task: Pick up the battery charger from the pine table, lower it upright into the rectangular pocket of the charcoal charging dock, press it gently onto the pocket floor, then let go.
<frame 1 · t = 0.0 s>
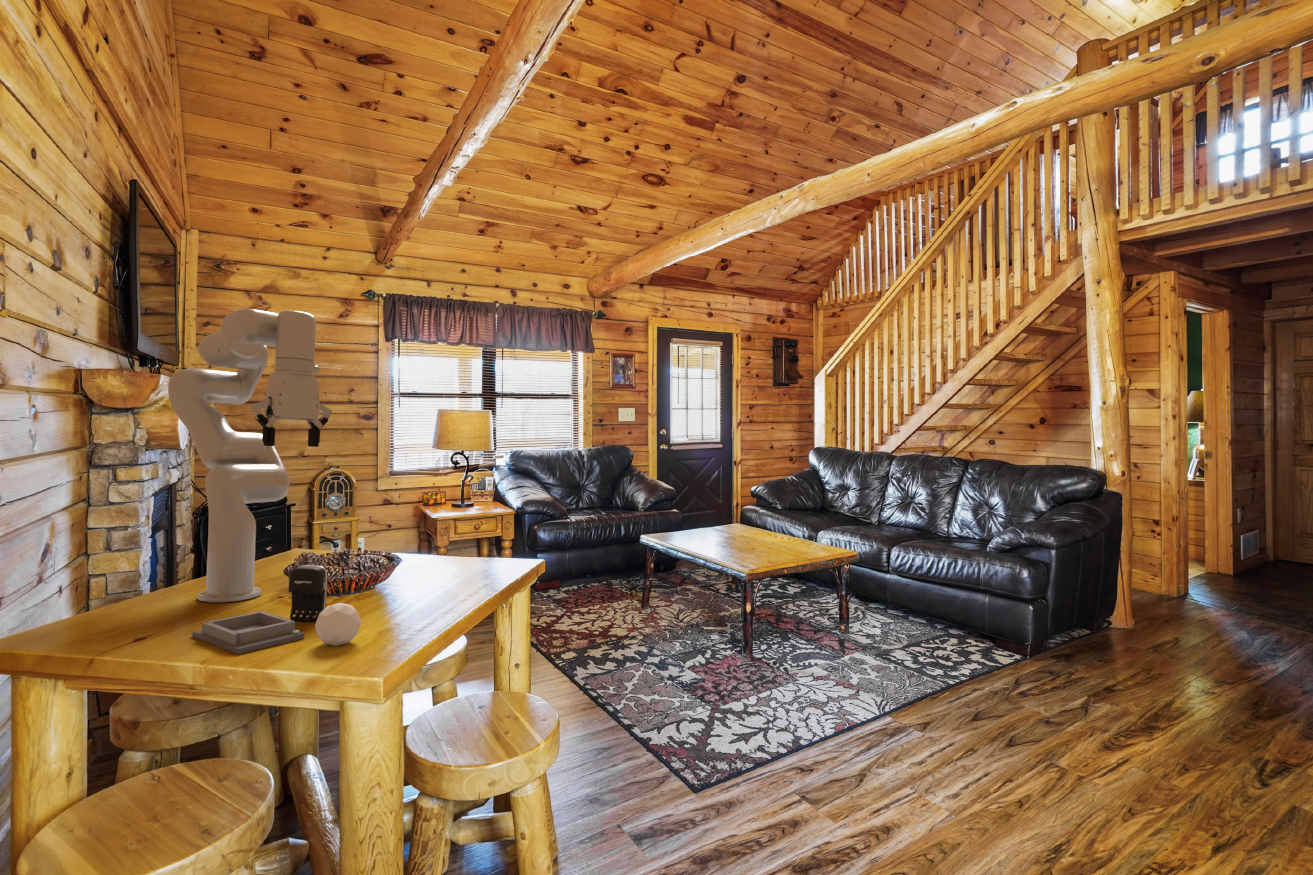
hand: (291, 446, 142), 37 cm above the table, tool pointing down, fingers open, 9 cm apart
charging dock: (248, 637, 125), on the table
battery charger: (305, 621, 138), on the table
geometric ball: (337, 644, 124), on the table
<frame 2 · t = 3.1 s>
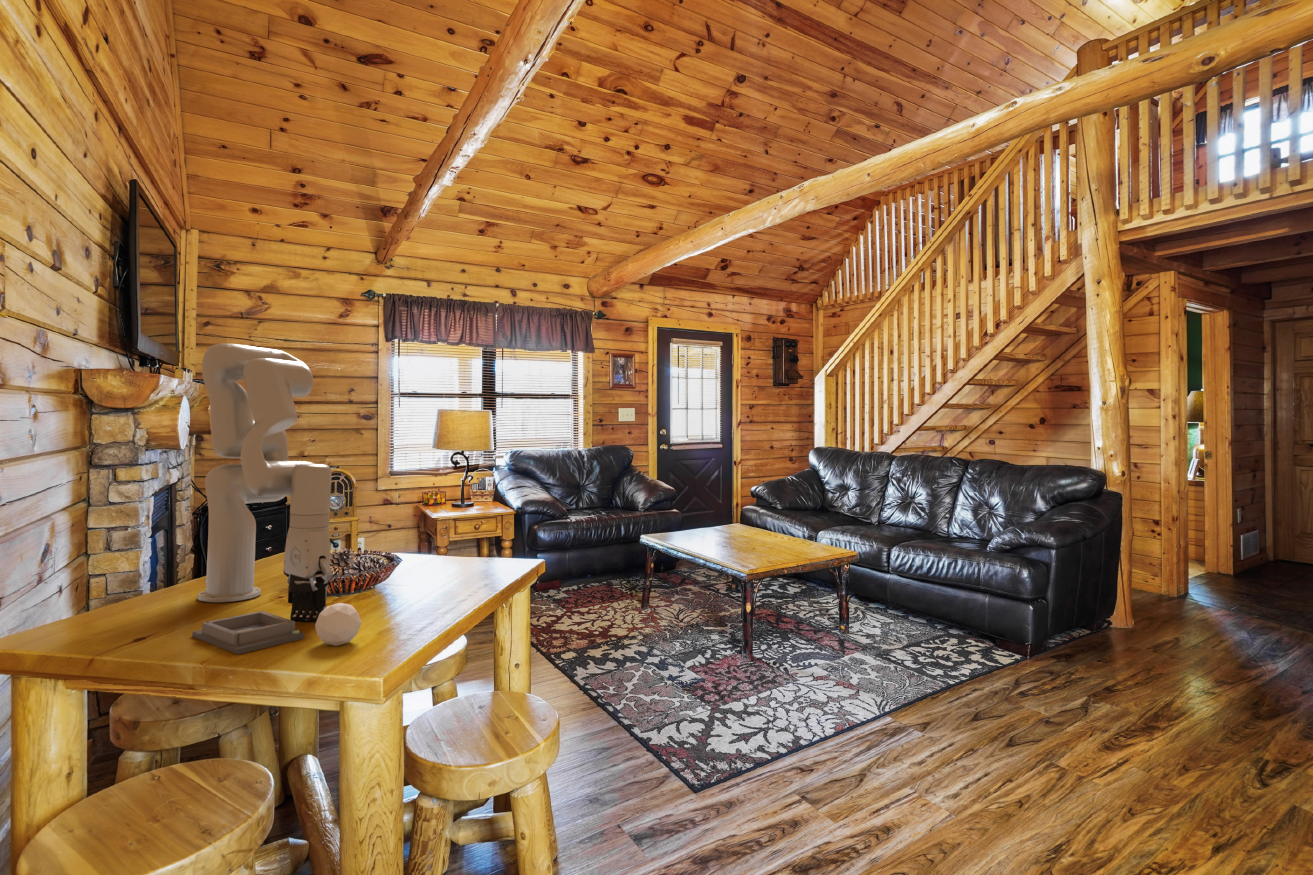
hand: (306, 604, 138), 3 cm above the table, tool pointing down, fingers closed on battery charger, 7 cm apart
battery charger: (306, 621, 138), on the table, touching gripper
everything else where it was.
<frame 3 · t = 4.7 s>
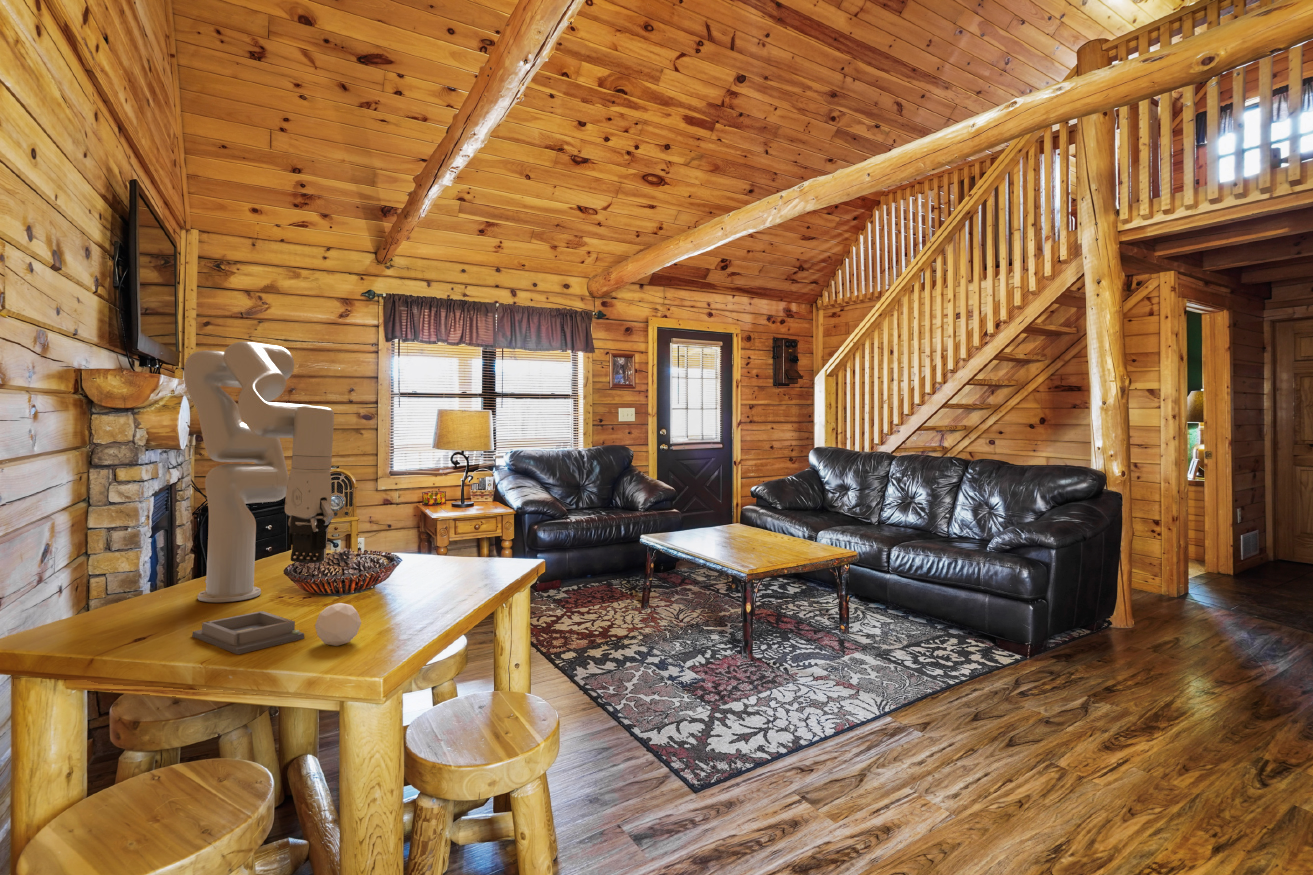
hand: (306, 546, 138), 16 cm above the table, tool pointing down, fingers closed on battery charger, 7 cm apart
battery charger: (306, 563, 138), point 12 cm above the table, touching gripper
everything else where it was.
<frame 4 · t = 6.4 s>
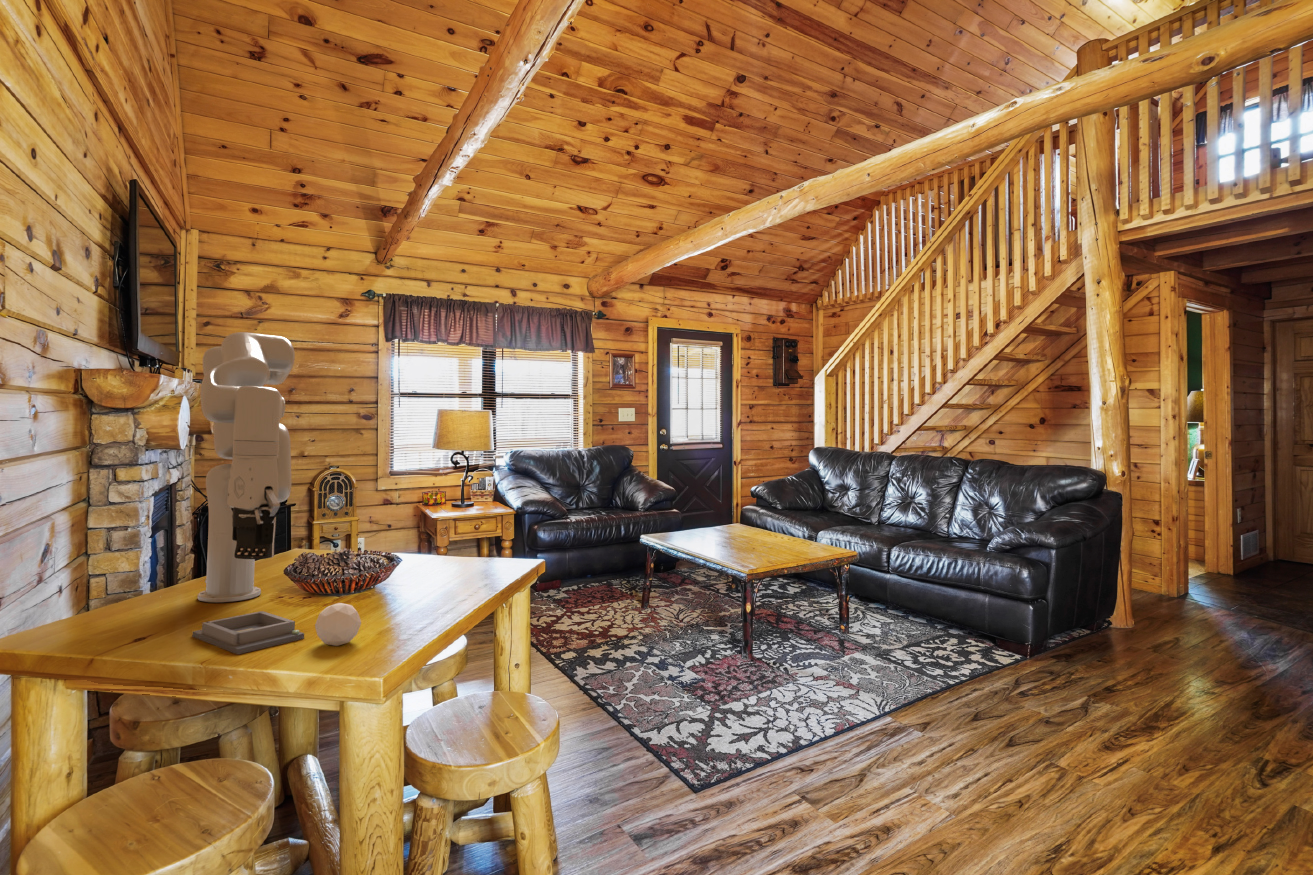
hand: (252, 541, 125), 19 cm above the table, tool pointing down, fingers closed on battery charger, 7 cm apart
battery charger: (252, 559, 125), point 15 cm above the table, touching gripper
everything else where it was.
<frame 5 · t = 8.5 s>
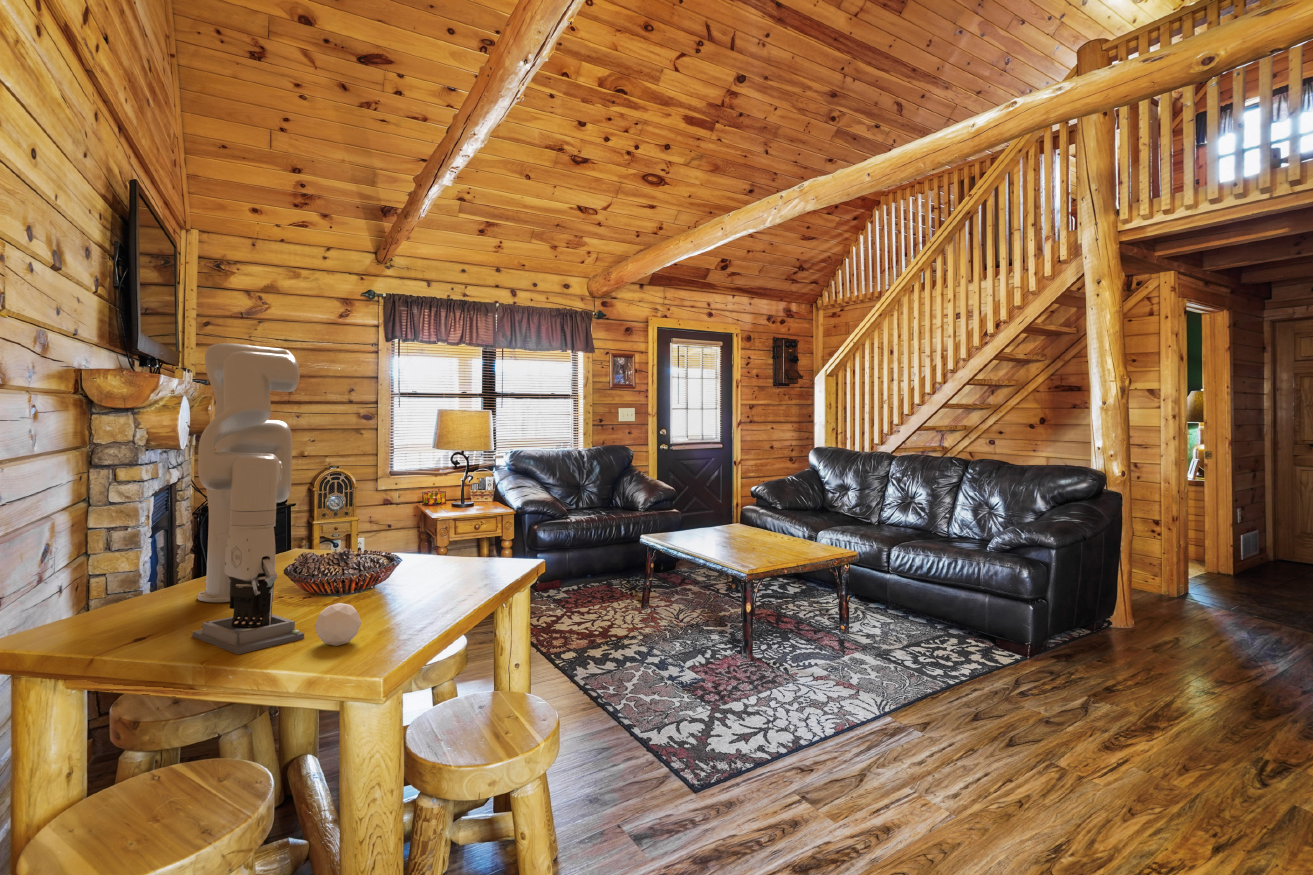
hand: (249, 610, 125), 5 cm above the table, tool pointing down, fingers closed on battery charger, 7 cm apart
battery charger: (249, 628, 125), point 2 cm above the table, touching gripper
everything else where it was.
when the fingers open (4 cm above the table, at t = 10.1 s): battery charger stays where it is, resting on charging dock.
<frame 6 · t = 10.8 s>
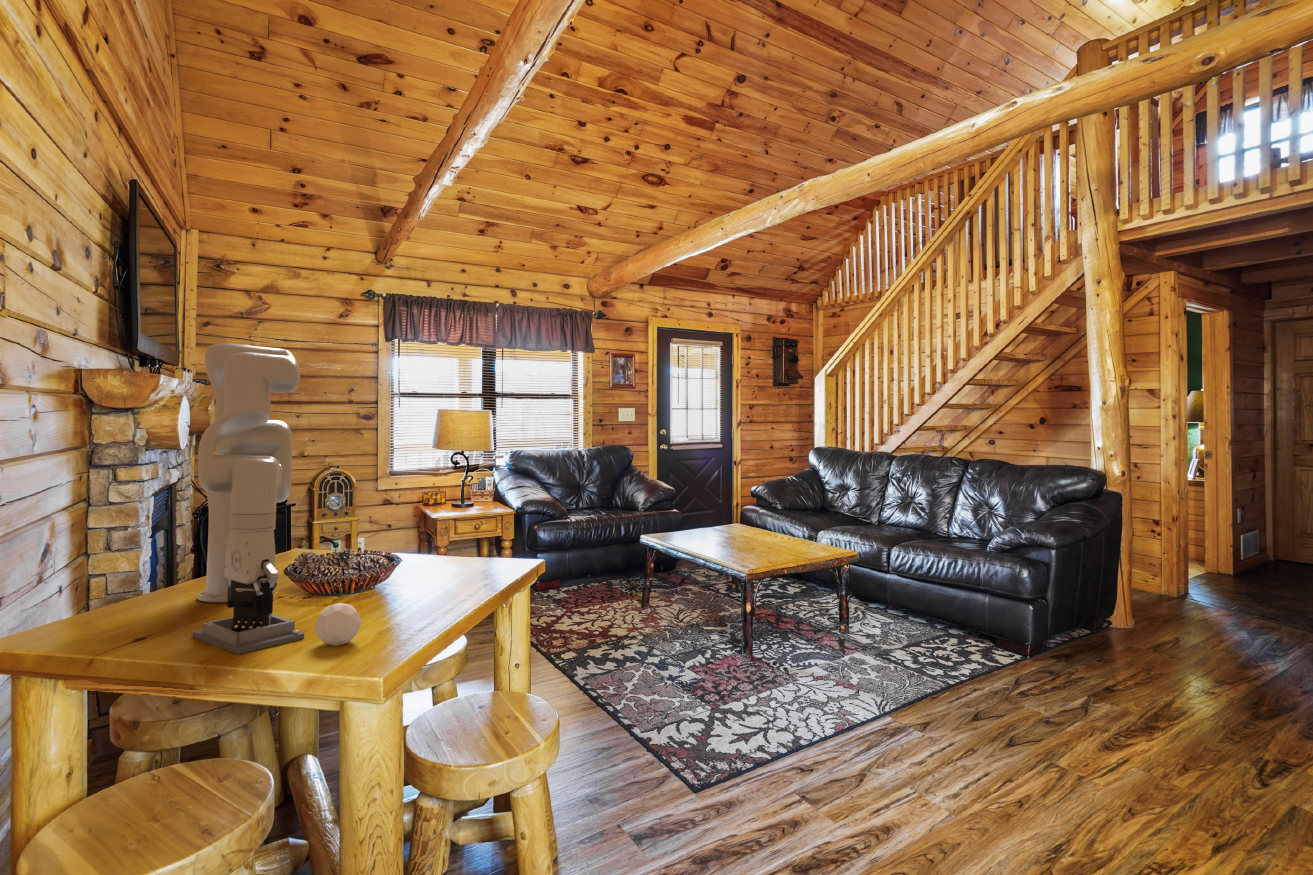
hand: (249, 610, 125), 5 cm above the table, tool pointing down, fingers open, 9 cm apart
battery charger: (249, 632, 125), point 1 cm above the table, touching charging dock
everything else where it was.
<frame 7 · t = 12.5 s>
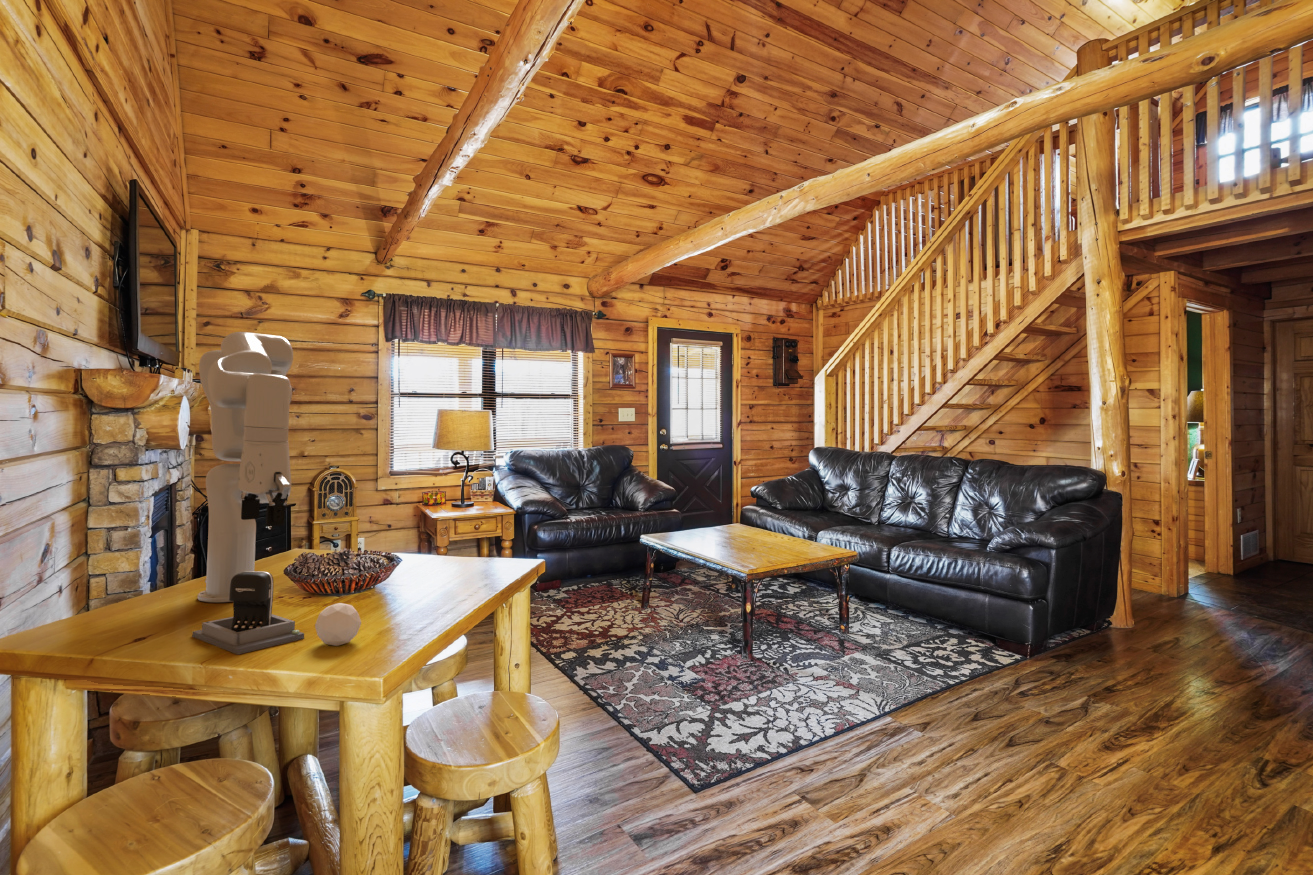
hand: (262, 522, 129), 22 cm above the table, tool pointing down, fingers open, 9 cm apart
nothing on the table moved.
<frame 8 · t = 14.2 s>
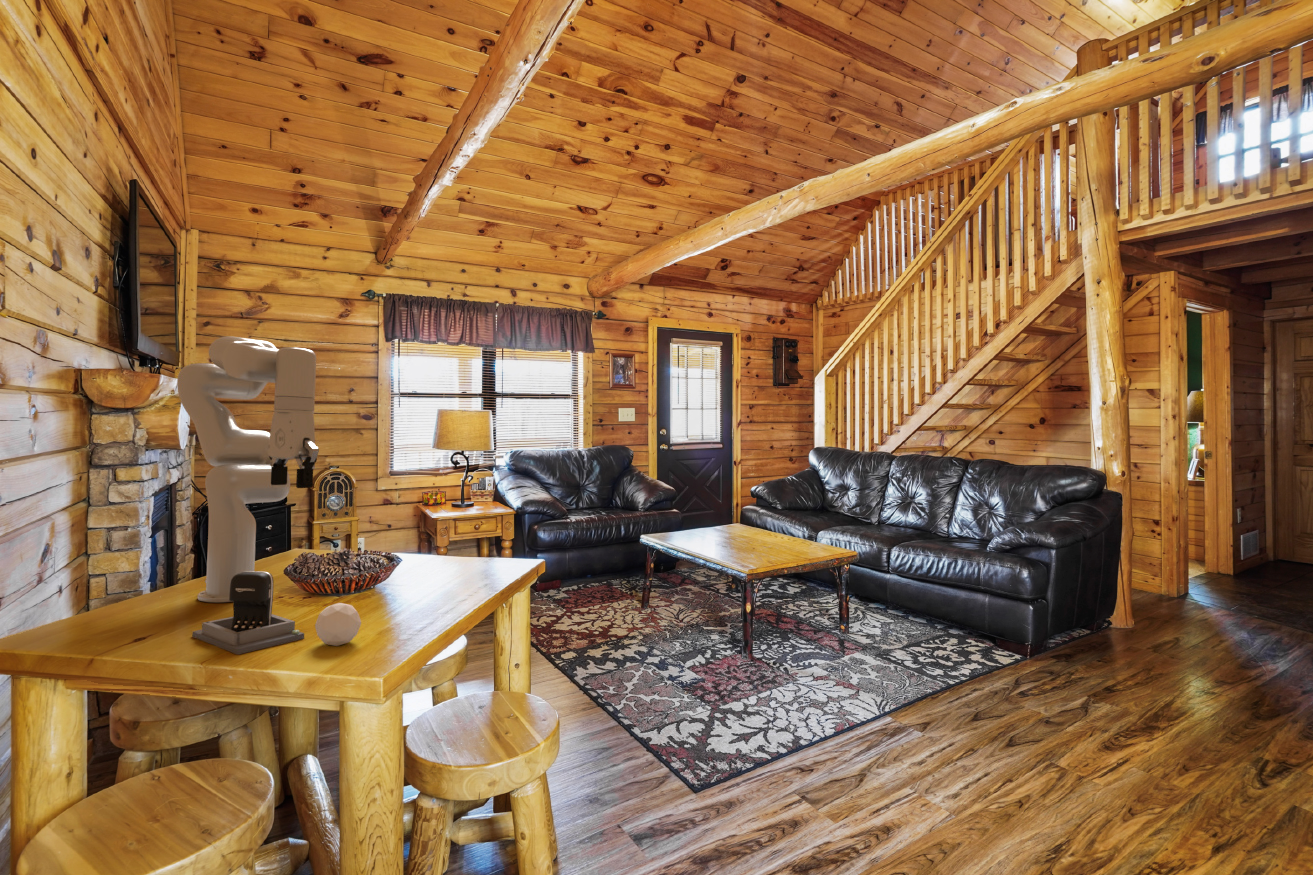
hand: (291, 486, 139), 28 cm above the table, tool pointing down, fingers open, 9 cm apart
nothing on the table moved.
at the end: battery charger 0.1 cm off-centre on the charging dock, point 0.9 cm above the charging dock's base; battery charger tilted 0°; the gripper is holding nothing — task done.
